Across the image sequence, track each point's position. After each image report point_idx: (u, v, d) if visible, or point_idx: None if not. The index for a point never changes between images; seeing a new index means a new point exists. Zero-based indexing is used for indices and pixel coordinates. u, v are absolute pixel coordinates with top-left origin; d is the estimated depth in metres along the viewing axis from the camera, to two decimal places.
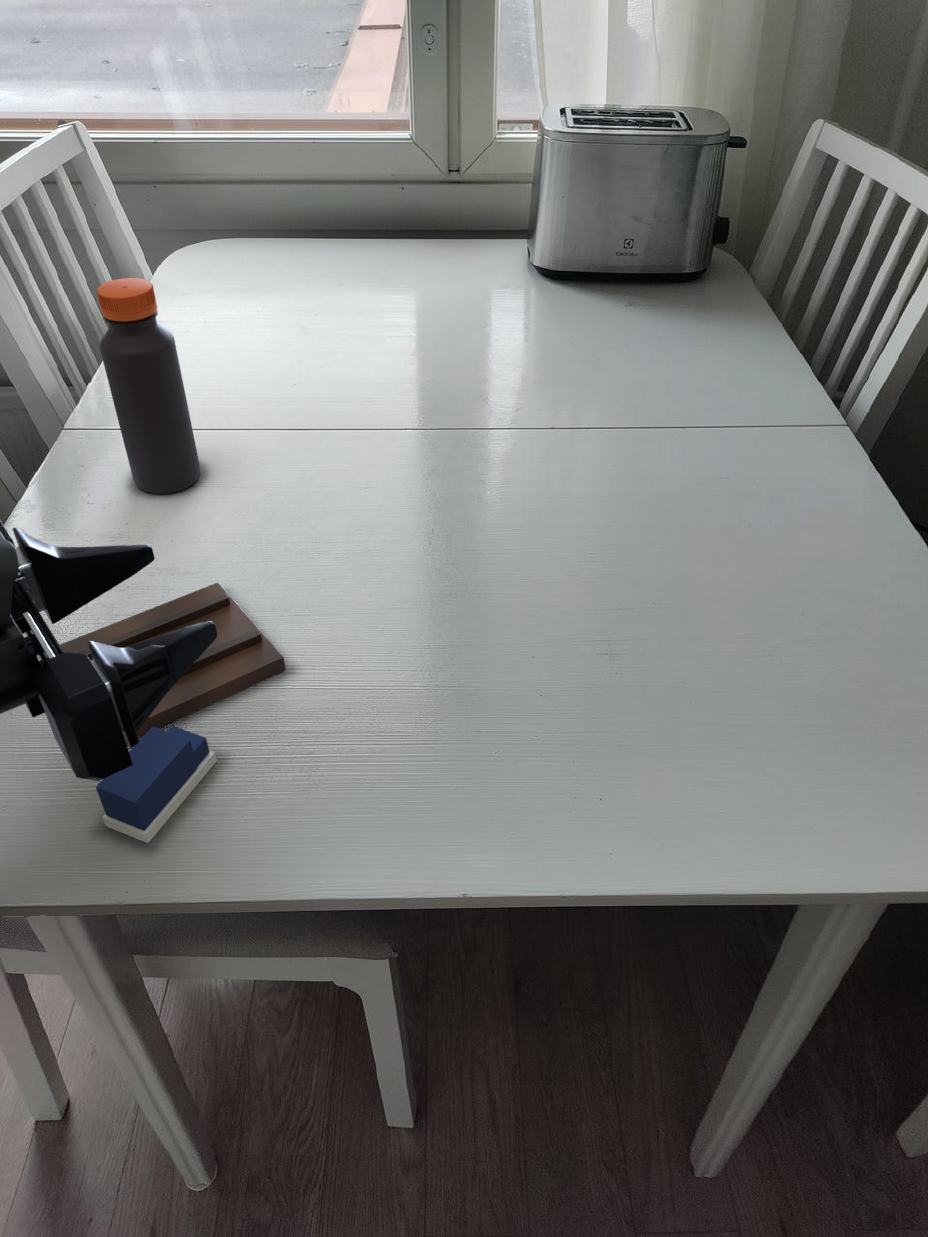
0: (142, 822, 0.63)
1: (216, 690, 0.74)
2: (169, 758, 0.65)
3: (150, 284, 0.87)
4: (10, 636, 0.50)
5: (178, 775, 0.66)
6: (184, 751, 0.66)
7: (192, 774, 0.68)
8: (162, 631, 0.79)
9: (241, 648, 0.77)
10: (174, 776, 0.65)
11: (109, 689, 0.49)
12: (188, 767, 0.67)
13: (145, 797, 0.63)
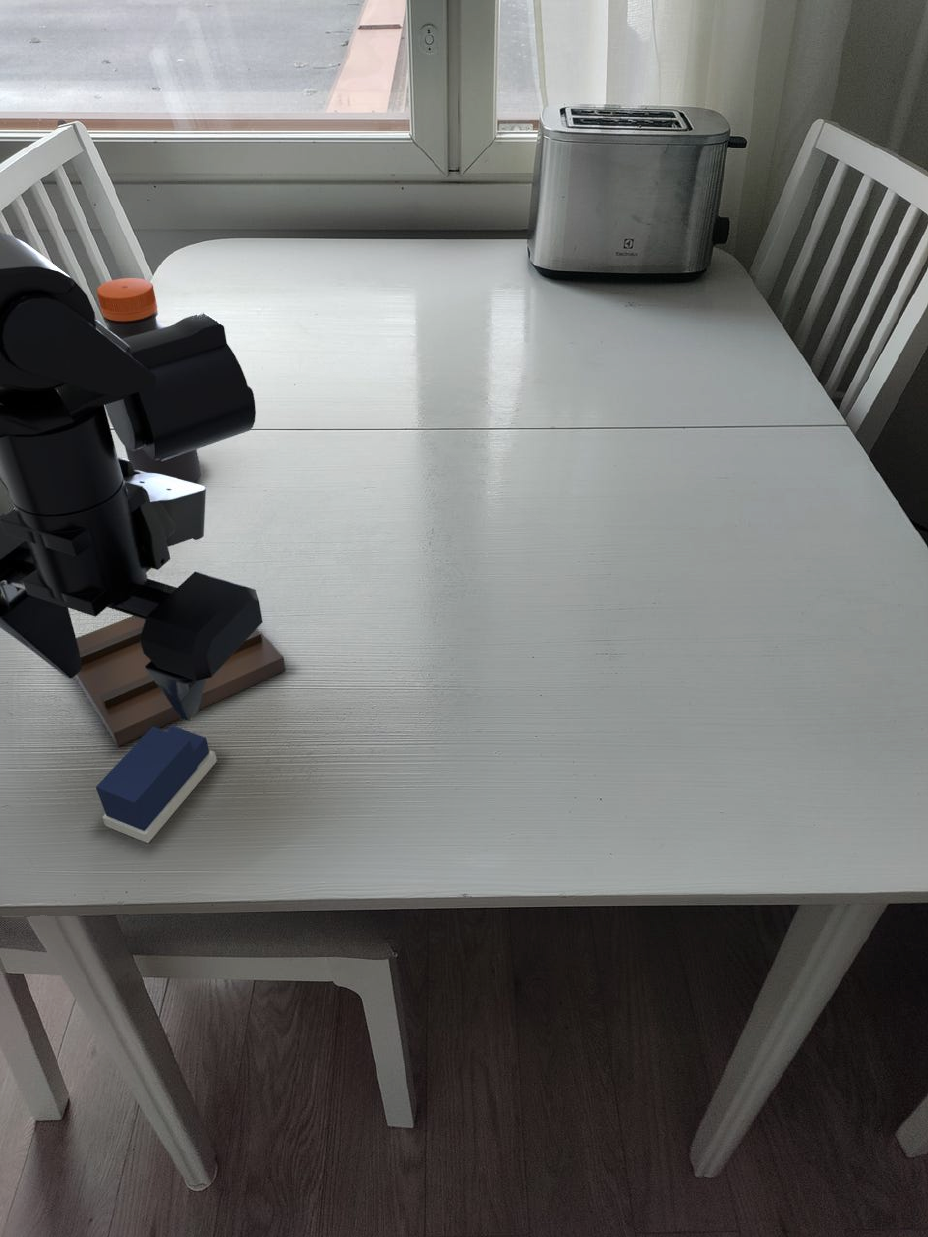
0: (142, 822, 0.63)
1: (216, 690, 0.74)
2: (169, 758, 0.65)
3: (150, 284, 0.87)
4: None
5: (178, 775, 0.66)
6: (184, 751, 0.66)
7: (192, 774, 0.68)
8: None
9: (241, 648, 0.77)
10: (174, 776, 0.65)
11: None
12: (188, 767, 0.67)
13: (145, 797, 0.63)
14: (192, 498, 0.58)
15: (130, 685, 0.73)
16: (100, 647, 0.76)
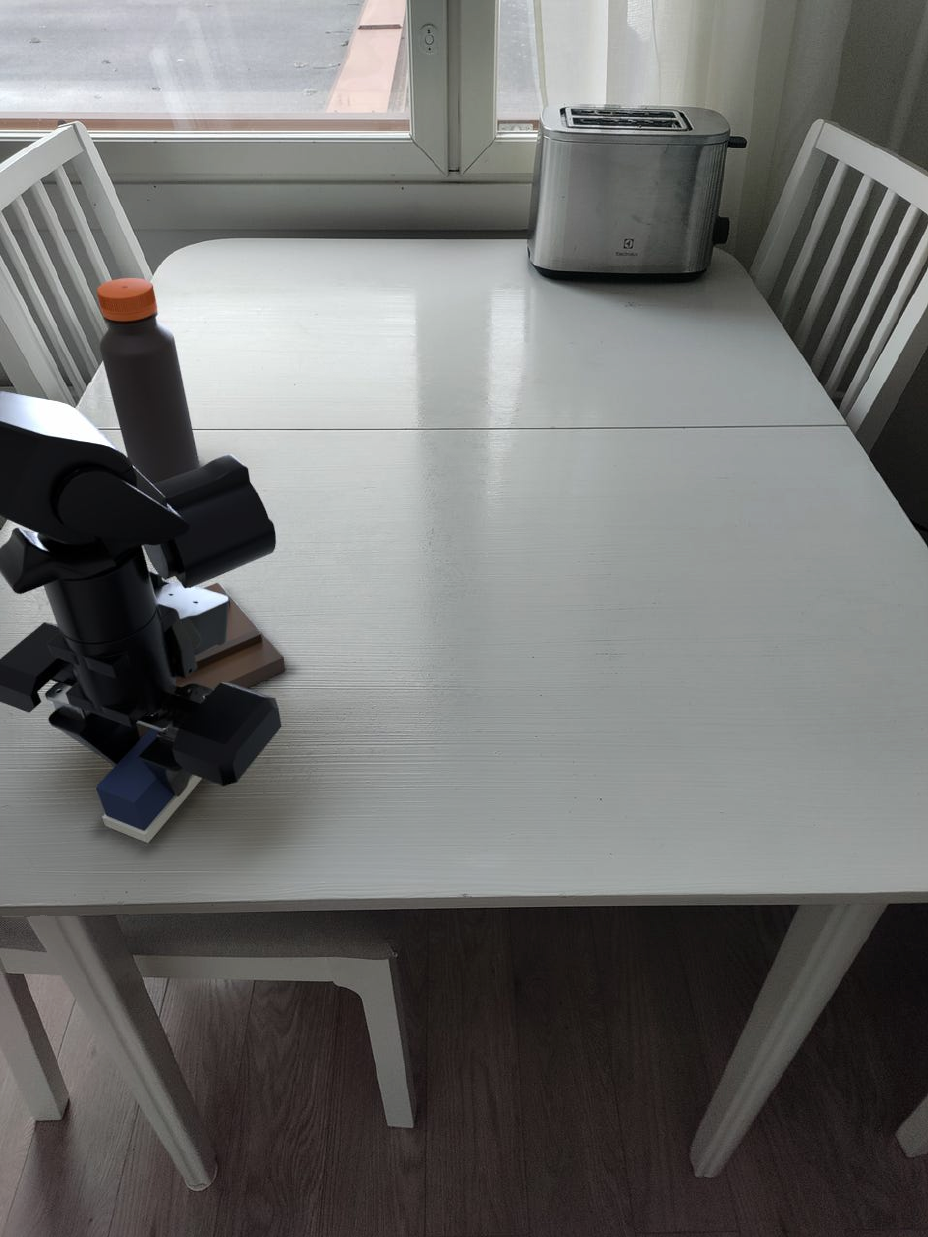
0: (142, 822, 0.63)
1: None
2: None
3: (150, 284, 0.87)
4: None
5: None
6: None
7: None
8: None
9: (241, 648, 0.77)
10: None
11: None
12: None
13: (145, 797, 0.63)
14: (217, 610, 0.63)
15: None
16: None
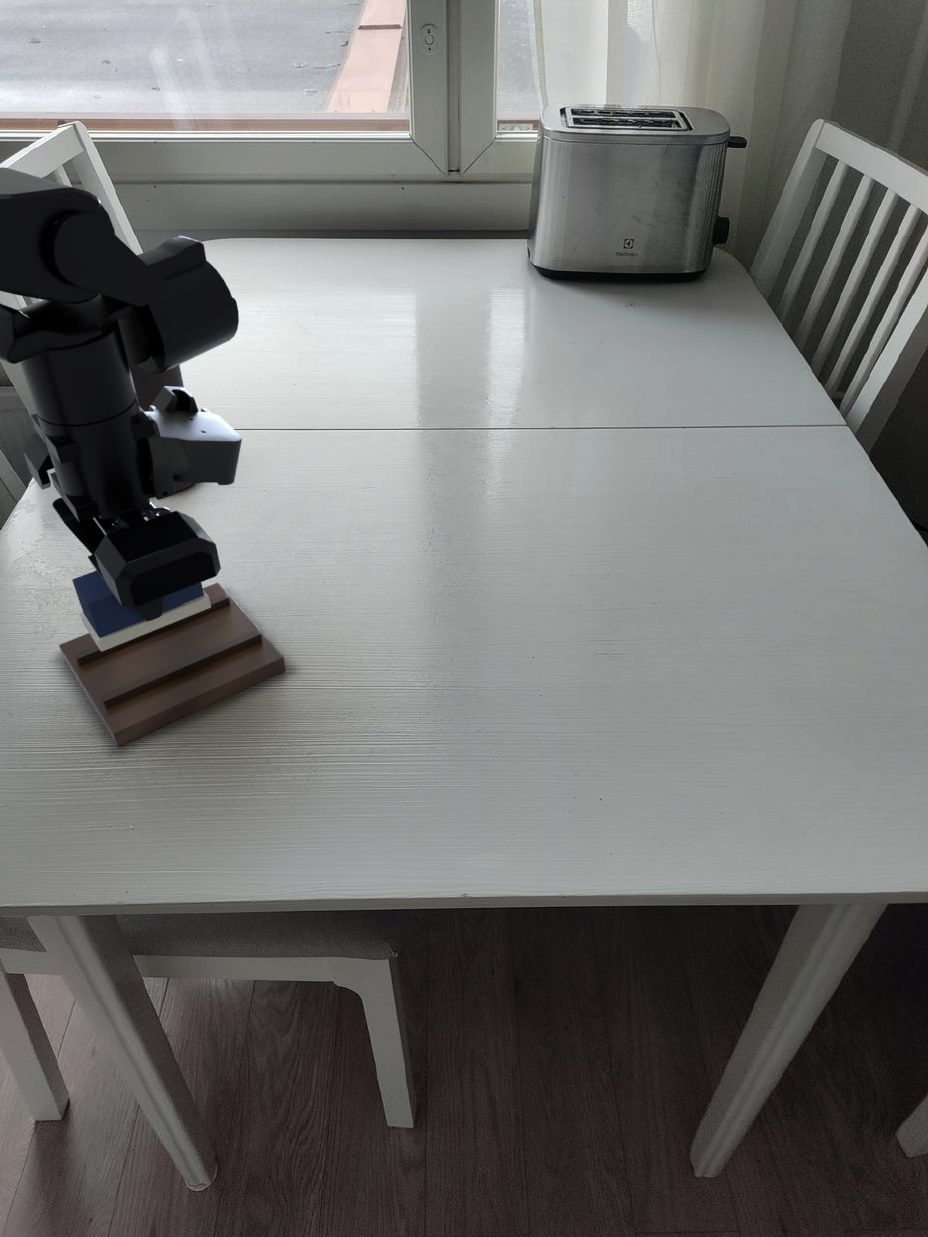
0: (97, 628, 0.64)
1: (216, 690, 0.74)
2: None
3: None
4: None
5: None
6: None
7: (175, 607, 0.67)
8: (162, 631, 0.79)
9: (241, 648, 0.77)
10: None
11: None
12: (169, 598, 0.66)
13: (103, 604, 0.63)
14: (218, 445, 0.61)
15: (130, 685, 0.73)
16: None
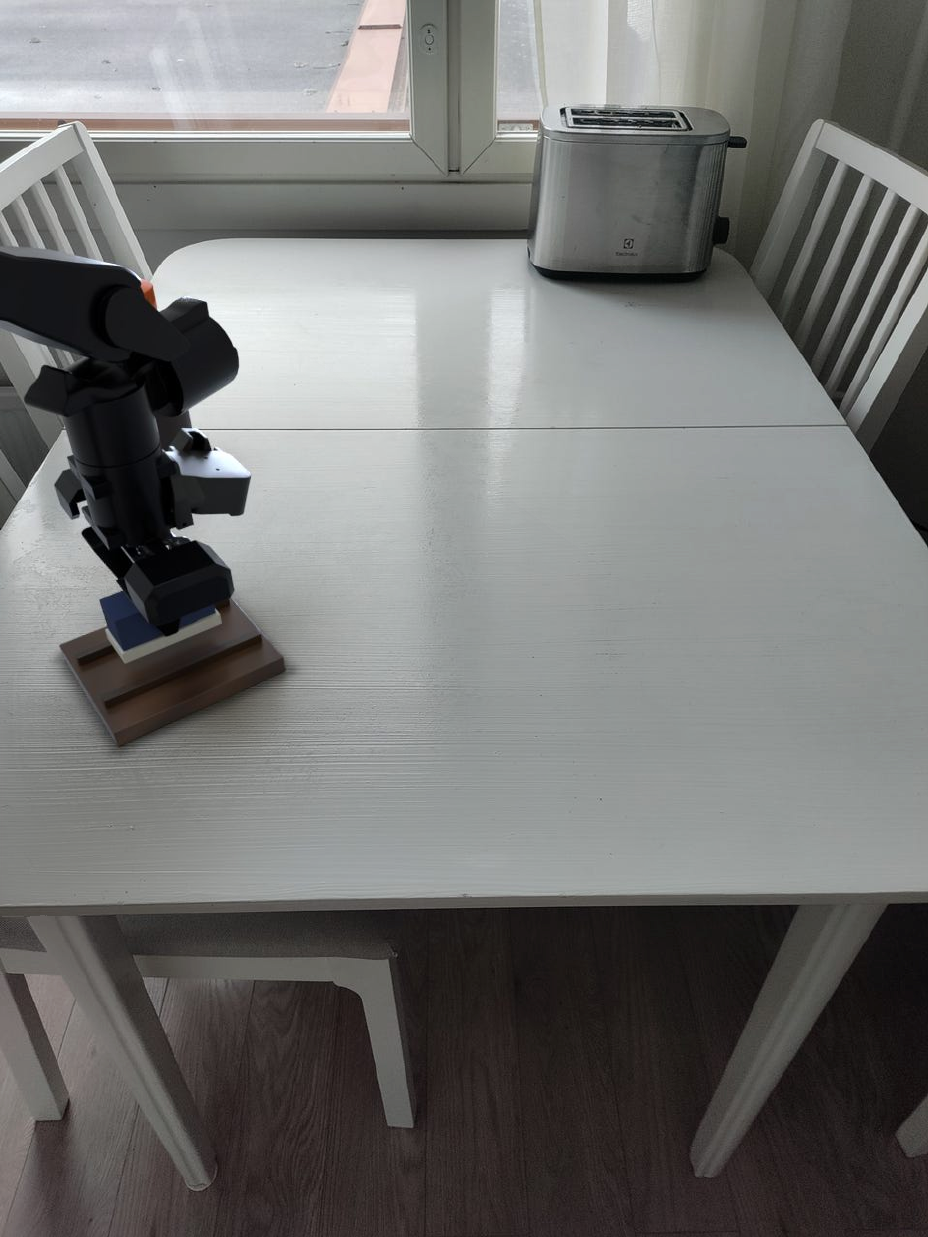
0: (122, 642, 0.71)
1: (216, 690, 0.74)
2: None
3: (150, 284, 0.87)
4: None
5: None
6: None
7: (190, 624, 0.74)
8: None
9: (241, 648, 0.77)
10: None
11: None
12: None
13: (128, 622, 0.71)
14: (230, 481, 0.69)
15: (130, 685, 0.73)
16: (100, 647, 0.76)
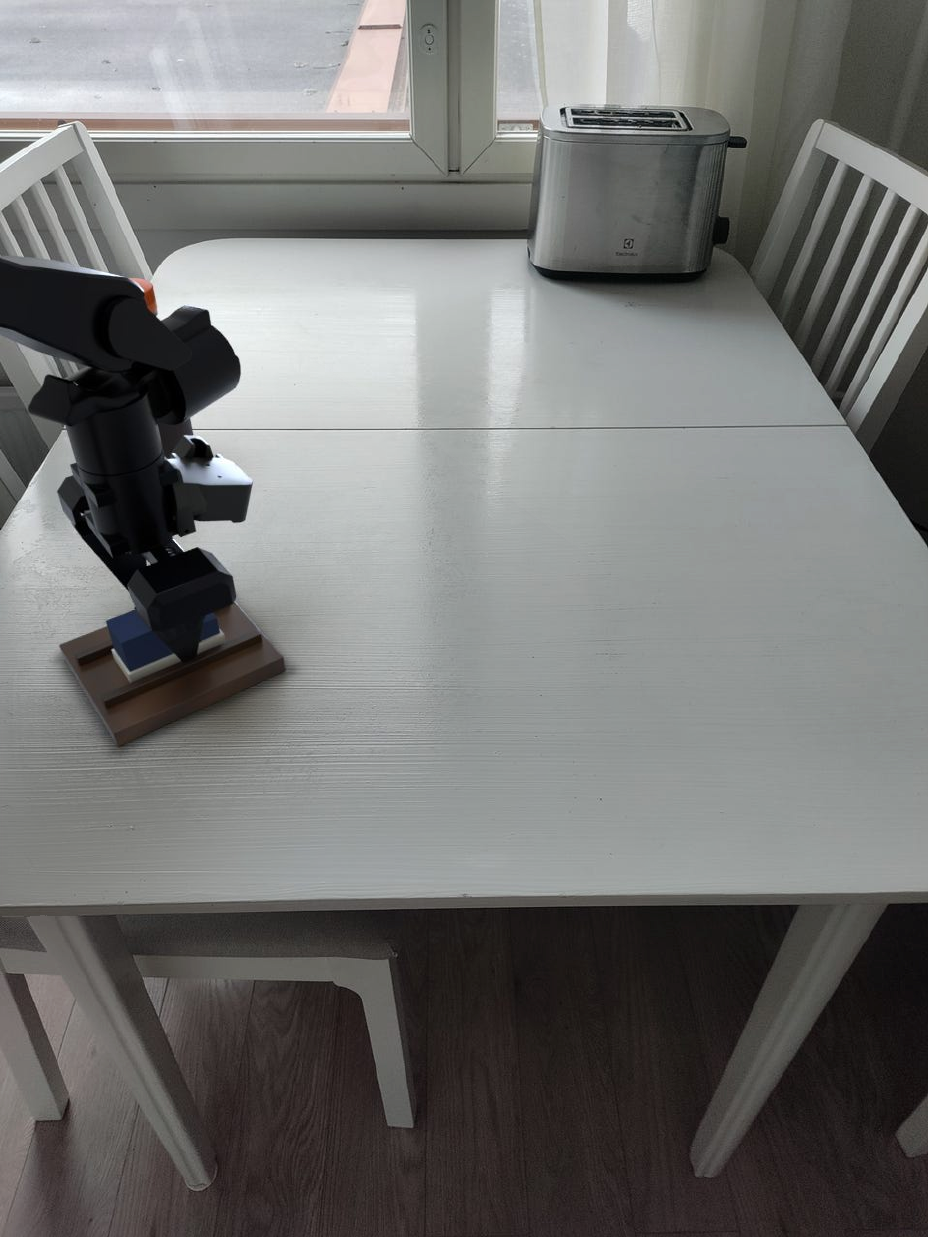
0: (128, 663, 0.73)
1: (216, 690, 0.74)
2: None
3: (150, 284, 0.87)
4: None
5: None
6: None
7: None
8: None
9: (241, 648, 0.77)
10: None
11: None
12: None
13: (134, 643, 0.72)
14: (232, 489, 0.69)
15: (130, 685, 0.73)
16: (100, 647, 0.76)
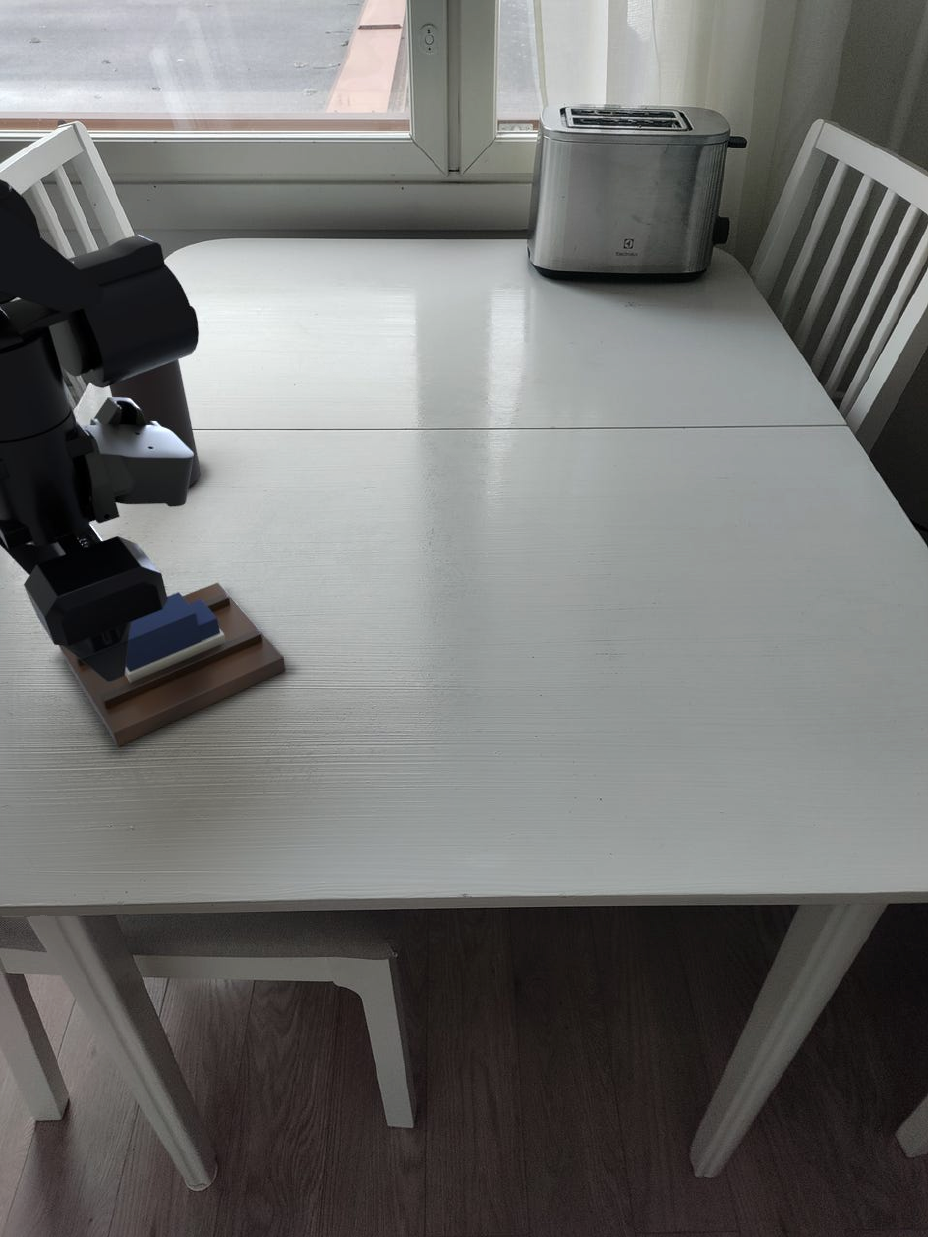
0: (128, 663, 0.73)
1: (216, 690, 0.74)
2: (170, 620, 0.73)
3: None
4: None
5: (176, 638, 0.74)
6: (187, 620, 0.74)
7: (195, 644, 0.76)
8: None
9: (241, 648, 0.77)
10: (171, 637, 0.74)
11: None
12: (190, 636, 0.75)
13: (134, 643, 0.72)
14: (166, 463, 0.55)
15: (130, 685, 0.73)
16: None
